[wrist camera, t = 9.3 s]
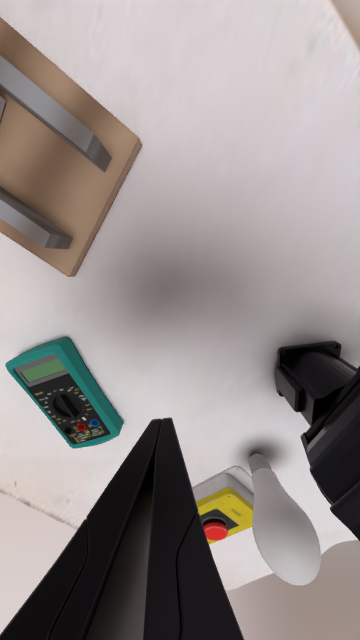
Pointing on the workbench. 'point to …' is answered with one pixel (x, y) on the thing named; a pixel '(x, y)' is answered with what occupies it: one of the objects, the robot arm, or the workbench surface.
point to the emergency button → (225, 503)
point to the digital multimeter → (66, 393)
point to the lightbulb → (282, 528)
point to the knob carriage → (1, 105)
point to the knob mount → (55, 156)
